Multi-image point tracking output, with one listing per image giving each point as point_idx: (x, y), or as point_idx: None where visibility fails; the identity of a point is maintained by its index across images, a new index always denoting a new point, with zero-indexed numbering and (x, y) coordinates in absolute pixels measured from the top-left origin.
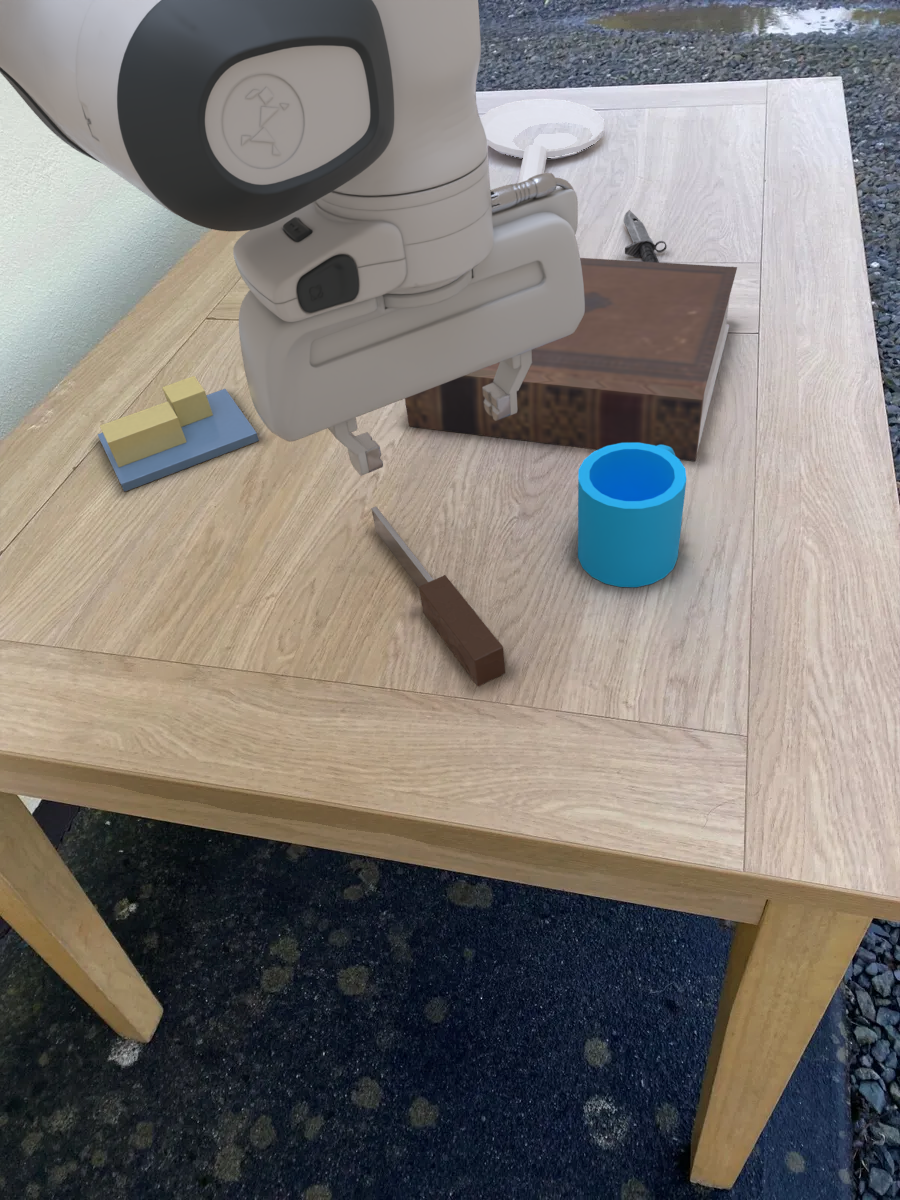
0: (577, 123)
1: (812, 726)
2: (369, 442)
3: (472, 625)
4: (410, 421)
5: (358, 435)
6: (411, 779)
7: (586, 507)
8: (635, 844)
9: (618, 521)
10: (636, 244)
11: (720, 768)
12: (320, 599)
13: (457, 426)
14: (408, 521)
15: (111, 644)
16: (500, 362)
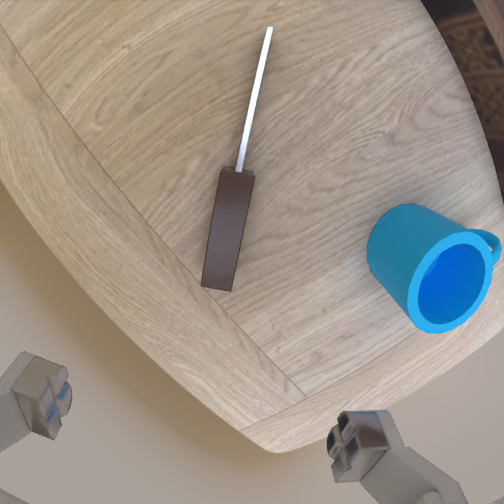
0: None
1: (336, 408)
2: (38, 421)
3: (226, 253)
4: None
5: (21, 393)
6: (117, 298)
7: (403, 267)
8: (205, 402)
9: (401, 304)
10: None
11: (278, 402)
12: (158, 79)
13: (427, 3)
14: (302, 48)
15: (17, 33)
16: (419, 477)
